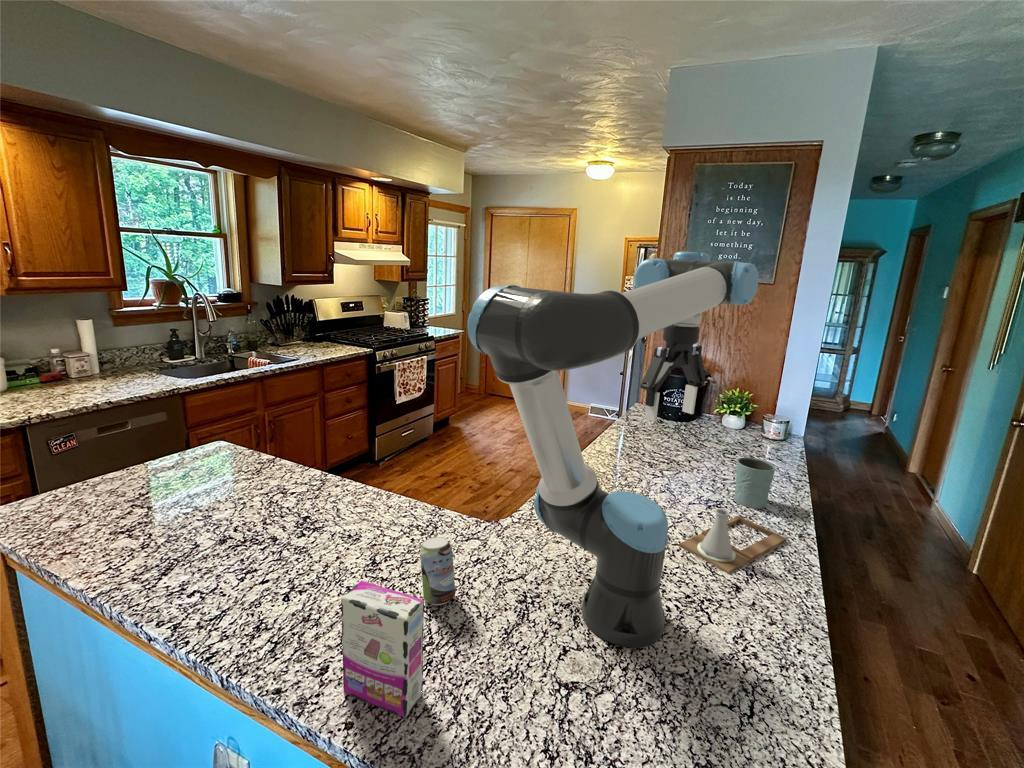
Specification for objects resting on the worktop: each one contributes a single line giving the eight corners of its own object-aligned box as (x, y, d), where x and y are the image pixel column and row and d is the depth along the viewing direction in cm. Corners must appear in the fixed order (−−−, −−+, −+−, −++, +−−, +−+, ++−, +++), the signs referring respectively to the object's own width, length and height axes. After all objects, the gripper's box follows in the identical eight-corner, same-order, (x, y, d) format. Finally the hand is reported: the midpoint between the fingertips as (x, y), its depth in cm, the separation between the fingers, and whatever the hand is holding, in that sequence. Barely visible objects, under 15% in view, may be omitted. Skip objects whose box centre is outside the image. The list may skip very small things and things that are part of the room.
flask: (735, 561, 113) (743, 521, 111) (702, 556, 114) (709, 516, 112) (729, 544, 120) (735, 507, 118) (697, 540, 121) (703, 502, 119)
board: (728, 573, 110) (729, 569, 110) (678, 545, 120) (679, 541, 120) (786, 541, 125) (787, 537, 125) (738, 519, 135) (738, 515, 135)
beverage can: (441, 614, 92) (442, 557, 89) (411, 599, 96) (412, 543, 93) (462, 597, 97) (464, 541, 94) (433, 583, 101) (434, 529, 98)
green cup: (759, 513, 140) (766, 473, 137) (724, 499, 147) (730, 461, 144) (773, 503, 146) (781, 465, 144) (739, 490, 154) (746, 454, 151)
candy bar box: (424, 693, 75) (426, 598, 71) (406, 720, 71) (407, 620, 67) (362, 668, 79) (361, 577, 75) (341, 693, 74) (339, 597, 71)
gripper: (659, 327, 100) (646, 428, 105) (730, 325, 114) (715, 413, 119) (630, 323, 106) (619, 418, 111) (701, 321, 120) (689, 405, 125)
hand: (669, 416), depth 115 cm, fingers open, 13 cm apart
